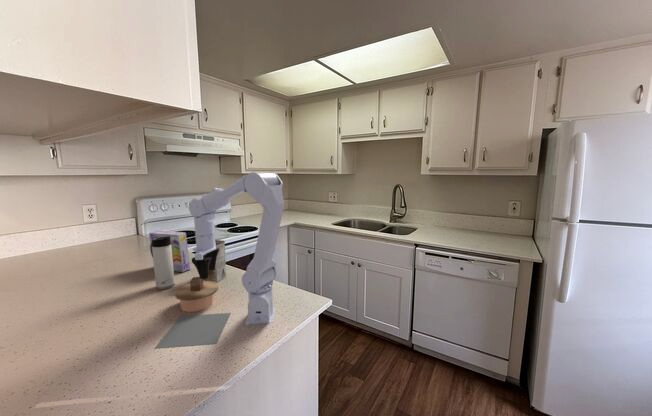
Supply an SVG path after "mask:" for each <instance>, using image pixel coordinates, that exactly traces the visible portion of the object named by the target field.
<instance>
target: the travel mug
mask: <svg viewBox="0 0 652 416" xmlns="http://www.w3.org/2000/svg"><path fill="white" fill-rule="evenodd" d="M152 252H153V257H152V260H153V261H152V262H154V263H153V270H154V278H155V279H154V281H155V288H156V290H160V291H163V290H167V289H168V290H169V289H171V288H174V286H175V285H176V284H175V271H174V270H173V259H172V248H171V238H170V236H167V237H160V238H157V239H154V240H152Z"/></svg>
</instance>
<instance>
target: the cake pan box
mask: <svg viewBox="0 0 652 416" xmlns="http://www.w3.org/2000/svg"><path fill="white" fill-rule="evenodd" d="M148 235H149V240H150V245H149V246H150V248H149V249H150V254H151V257H152V258H153V252H152V240H154V239H157V238H160V237H167V236H170V238H171V248H172V259H173V270H174V272H180V273H184V272H187V271H190V270H191V264H190V263H191V262H190V254H189V246H188V238H187V232H181V231H173V230H160V229H159V230H158V229H157V230H155V231H151V232H149V233H148ZM152 262H153V261H152ZM153 264H154V262H153Z"/></svg>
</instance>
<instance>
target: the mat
mask: <svg viewBox="0 0 652 416" xmlns="http://www.w3.org/2000/svg"><path fill="white" fill-rule="evenodd" d="M231 314H232V312H224V313H221V312H220V313H211V314H210V313H209V314H208V313H207V314H194V315H193V314H191V315H189V314H188V315H180V316H179V317H178V318H177V320H176V321H175V322H174V323H173V325H172V326H170V328H169V330H168V331H167V332H166V333H165V335H164V336H163V337H162V339H160V341H159V342H158V343H157V345H156V346H155V347H153V349H154V350H155V349H167V348H168V349H169V348H181V347H193V346H204V345H205V346H206V345H207V346H208V345H217V344H218V341H219V340H220V338H221V336H222V333H223V331H224V329H225V327H226V324H227V323H228V321H229V318H230V317H231Z"/></svg>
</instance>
